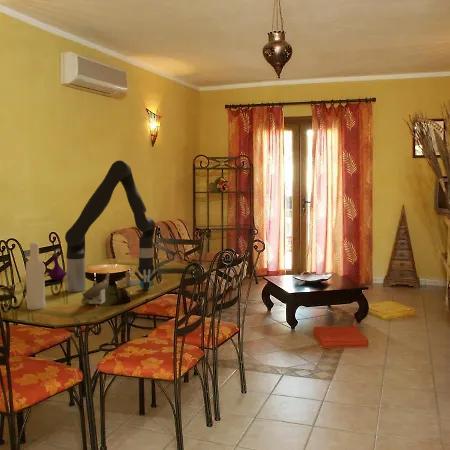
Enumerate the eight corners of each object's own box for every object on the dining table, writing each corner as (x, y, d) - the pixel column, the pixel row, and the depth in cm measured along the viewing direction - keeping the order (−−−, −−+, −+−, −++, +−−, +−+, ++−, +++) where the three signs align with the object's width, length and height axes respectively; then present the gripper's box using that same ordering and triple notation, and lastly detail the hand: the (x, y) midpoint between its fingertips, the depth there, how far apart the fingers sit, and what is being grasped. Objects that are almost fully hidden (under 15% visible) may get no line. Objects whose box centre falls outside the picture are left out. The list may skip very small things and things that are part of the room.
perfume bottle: (47, 279, 302) (46, 249, 301) (57, 277, 309) (56, 247, 307) (57, 281, 299) (56, 250, 297) (67, 278, 305) (66, 248, 304)
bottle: (47, 305, 243) (45, 241, 240) (42, 309, 235) (40, 243, 232) (30, 305, 243) (28, 241, 240) (24, 310, 235) (22, 243, 232)
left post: (126, 287, 284) (126, 272, 283) (125, 286, 286) (125, 271, 285) (131, 286, 285) (131, 272, 284) (130, 285, 287) (130, 271, 286)
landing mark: (128, 285, 287) (128, 285, 287) (123, 281, 298) (123, 281, 298) (150, 284, 292) (150, 283, 292) (144, 280, 303) (144, 279, 303)
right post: (150, 285, 289) (149, 270, 288) (148, 284, 291) (148, 270, 290) (154, 284, 290) (154, 270, 289) (153, 283, 292) (153, 269, 291)
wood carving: (117, 293, 269) (117, 271, 268) (95, 310, 234) (95, 286, 233) (100, 292, 270) (100, 271, 268) (76, 310, 235) (75, 285, 234)
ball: (141, 291, 274) (141, 279, 273) (138, 288, 279) (138, 277, 279) (152, 290, 276) (152, 278, 276) (149, 287, 282) (149, 276, 281)
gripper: (156, 254, 278) (156, 286, 280) (131, 255, 273) (132, 288, 275) (160, 256, 271) (160, 289, 273) (135, 257, 266) (135, 291, 268)
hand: (146, 288), depth 274 cm, fingers closed
